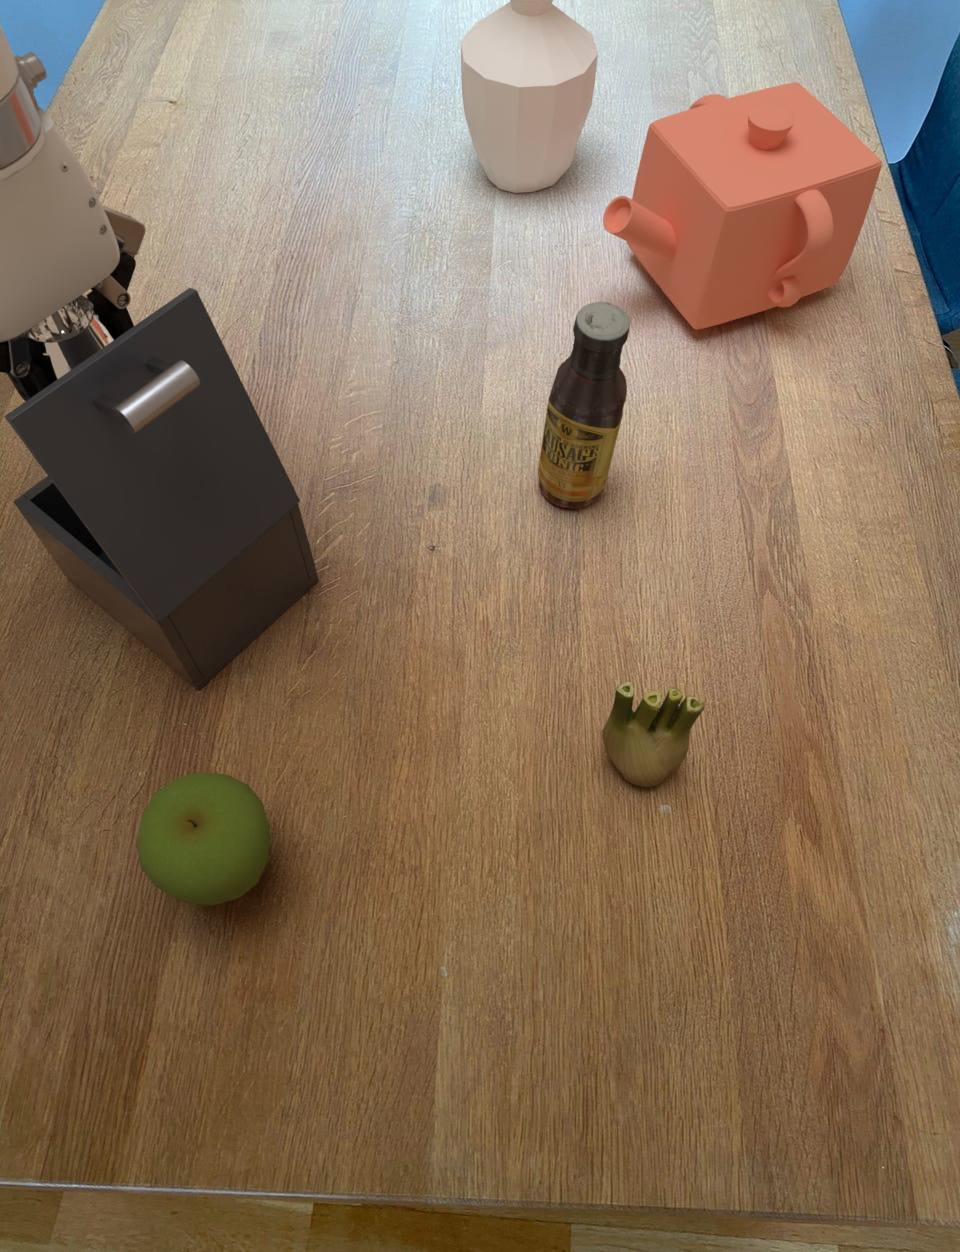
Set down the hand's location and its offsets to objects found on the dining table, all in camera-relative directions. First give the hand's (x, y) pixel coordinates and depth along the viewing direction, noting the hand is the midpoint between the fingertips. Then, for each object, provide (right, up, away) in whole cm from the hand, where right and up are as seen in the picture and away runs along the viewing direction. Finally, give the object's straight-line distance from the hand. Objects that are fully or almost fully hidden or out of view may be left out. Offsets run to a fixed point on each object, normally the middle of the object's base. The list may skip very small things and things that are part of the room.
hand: (85, 374), depth 63 cm
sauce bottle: (+35, -4, +23) cm, 42 cm away
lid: (+6, -6, -1) cm, 9 cm away
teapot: (+50, +19, +36) cm, 64 cm away
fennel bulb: (+39, -27, +9) cm, 49 cm away
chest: (+2, -13, +17) cm, 22 cm away
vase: (+32, +35, +46) cm, 66 cm away
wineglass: (0, -4, +6) cm, 7 cm away
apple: (+9, -35, +5) cm, 36 cm away
